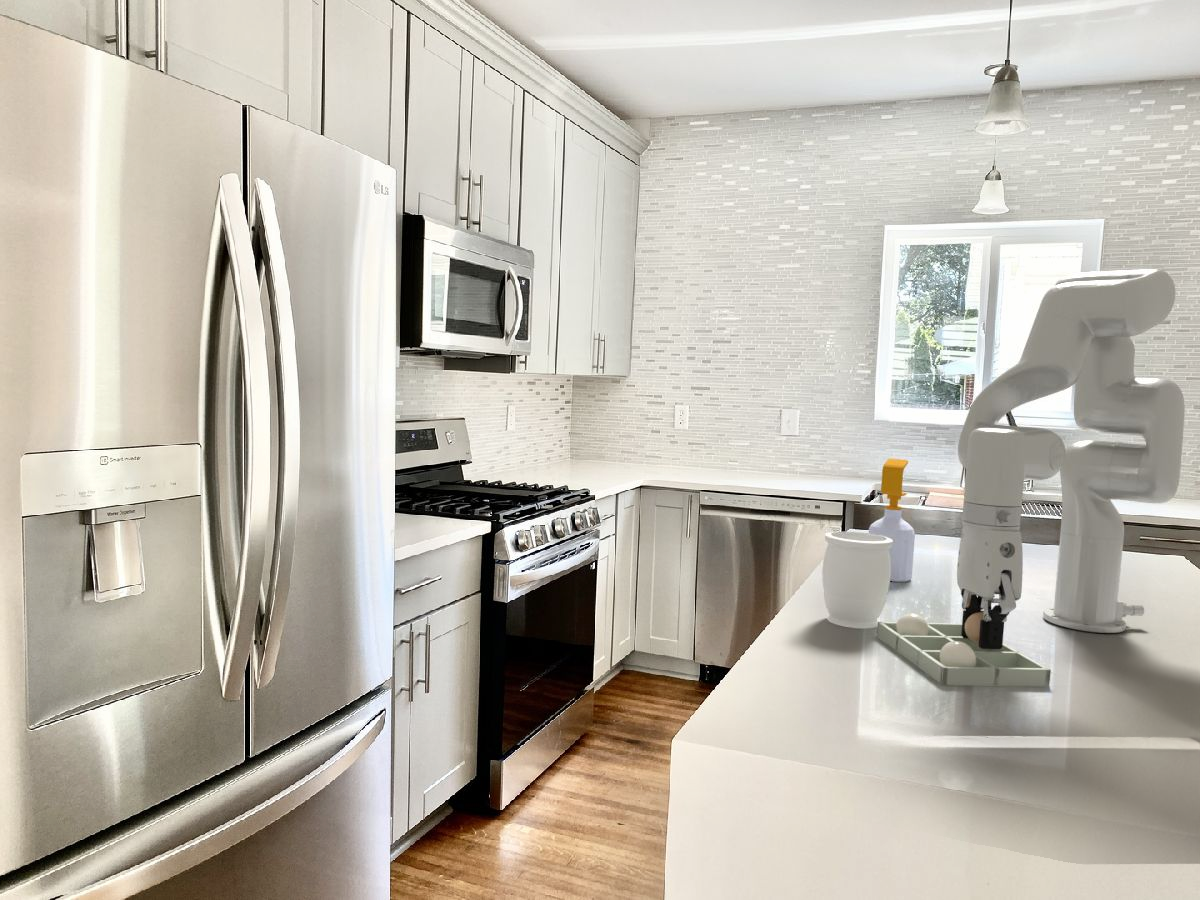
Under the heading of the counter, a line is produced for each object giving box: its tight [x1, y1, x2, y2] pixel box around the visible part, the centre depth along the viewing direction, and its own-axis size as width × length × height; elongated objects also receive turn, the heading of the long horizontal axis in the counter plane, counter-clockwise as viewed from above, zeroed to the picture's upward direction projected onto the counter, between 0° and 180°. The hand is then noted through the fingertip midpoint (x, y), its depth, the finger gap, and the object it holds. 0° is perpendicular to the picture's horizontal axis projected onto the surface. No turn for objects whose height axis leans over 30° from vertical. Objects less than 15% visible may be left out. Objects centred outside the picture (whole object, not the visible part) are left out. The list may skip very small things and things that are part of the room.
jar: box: [821, 531, 893, 629], centre depth 144 cm, size 11×10×15 cm
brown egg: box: [965, 612, 984, 644], centre depth 127 cm, size 5×5×5 cm
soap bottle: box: [868, 458, 916, 583], centre depth 184 cm, size 9×9×25 cm
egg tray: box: [876, 621, 1052, 688], centre depth 127 cm, size 15×22×3 cm
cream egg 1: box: [896, 612, 929, 636], centre depth 133 cm, size 5×5×5 cm
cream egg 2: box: [939, 641, 976, 667], centre depth 119 cm, size 5×5×5 cm
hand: (981, 641), depth 127 cm, fingers closed on brown egg, 4 cm apart
